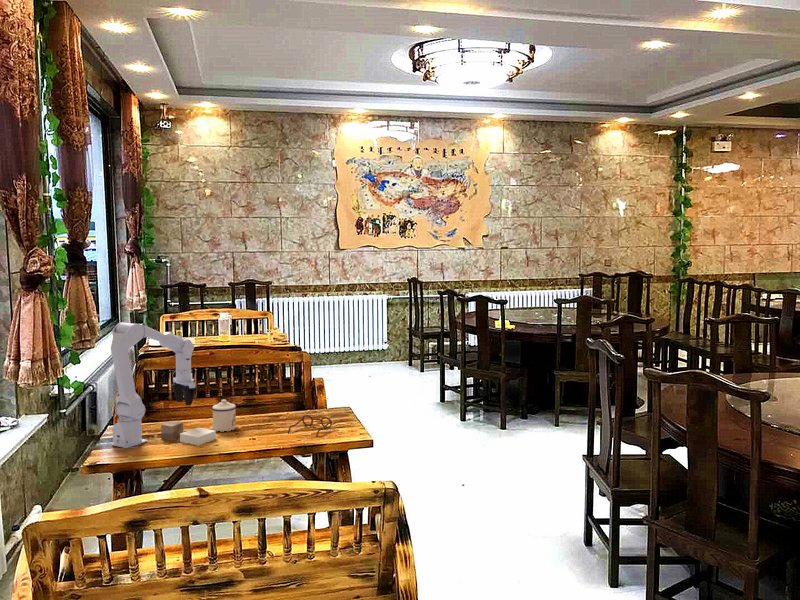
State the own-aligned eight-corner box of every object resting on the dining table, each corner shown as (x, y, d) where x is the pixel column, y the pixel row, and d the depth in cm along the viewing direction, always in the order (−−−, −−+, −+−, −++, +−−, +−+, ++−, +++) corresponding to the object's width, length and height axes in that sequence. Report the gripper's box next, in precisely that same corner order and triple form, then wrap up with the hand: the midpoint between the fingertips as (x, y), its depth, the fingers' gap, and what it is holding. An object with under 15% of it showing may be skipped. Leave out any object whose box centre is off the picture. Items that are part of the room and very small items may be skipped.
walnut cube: (172, 440, 244) (171, 426, 244) (161, 438, 247) (161, 424, 246) (183, 436, 249) (183, 422, 248) (172, 434, 251) (172, 420, 251)
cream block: (198, 446, 238) (198, 437, 238) (180, 442, 243) (179, 433, 242) (216, 439, 246) (215, 430, 246) (198, 436, 251) (197, 427, 250)
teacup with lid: (237, 430, 257) (237, 401, 256) (213, 433, 254) (212, 403, 253) (234, 422, 268) (233, 394, 267) (211, 425, 265) (210, 396, 264)
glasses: (332, 429, 261) (332, 416, 260) (316, 438, 249) (316, 425, 248) (303, 425, 266) (303, 413, 265) (286, 434, 254) (286, 421, 253)
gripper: (201, 370, 257) (202, 404, 258) (184, 365, 267) (185, 398, 268) (184, 372, 252) (185, 407, 253) (167, 367, 262) (168, 401, 263)
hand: (184, 403), depth 260 cm, fingers open, 7 cm apart
